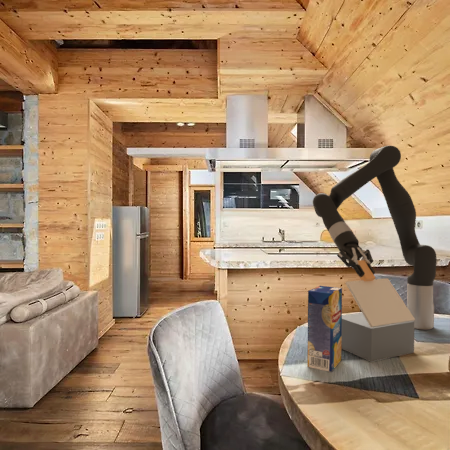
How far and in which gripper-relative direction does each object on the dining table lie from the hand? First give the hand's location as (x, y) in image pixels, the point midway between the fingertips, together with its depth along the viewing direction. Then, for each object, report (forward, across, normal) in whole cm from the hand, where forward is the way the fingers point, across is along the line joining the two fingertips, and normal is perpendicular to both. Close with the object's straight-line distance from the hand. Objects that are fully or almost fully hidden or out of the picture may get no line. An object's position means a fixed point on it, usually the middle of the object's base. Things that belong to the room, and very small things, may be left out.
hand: (367, 274), depth 122 cm
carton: (+19, 0, +15) cm, 24 cm away
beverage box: (+22, -23, +13) cm, 34 cm away
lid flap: (+6, 0, +2) cm, 6 cm away
